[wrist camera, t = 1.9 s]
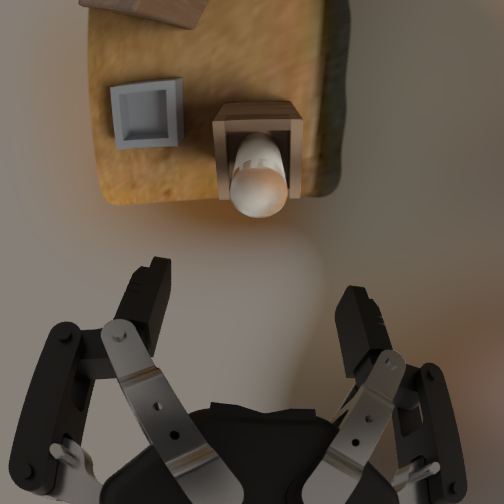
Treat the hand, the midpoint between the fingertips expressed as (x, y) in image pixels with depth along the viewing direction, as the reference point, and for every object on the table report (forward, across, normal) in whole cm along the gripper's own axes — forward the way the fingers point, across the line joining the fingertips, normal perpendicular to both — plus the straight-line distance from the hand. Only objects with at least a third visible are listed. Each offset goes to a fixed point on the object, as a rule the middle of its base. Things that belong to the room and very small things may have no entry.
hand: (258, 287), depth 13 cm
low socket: (+26, +13, -1) cm, 29 cm away
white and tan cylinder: (+18, 0, 0) cm, 18 cm away
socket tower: (+26, 0, 0) cm, 26 cm away
